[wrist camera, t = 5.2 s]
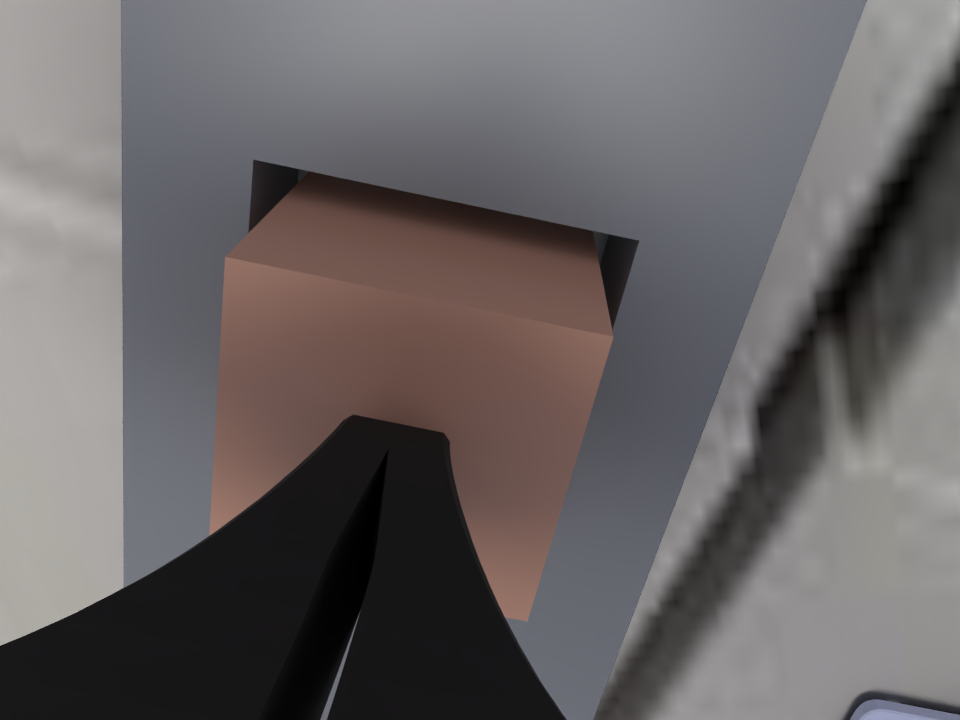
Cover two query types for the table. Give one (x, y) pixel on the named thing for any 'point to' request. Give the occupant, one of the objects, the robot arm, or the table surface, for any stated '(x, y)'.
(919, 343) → the table surface
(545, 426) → the terracotta key
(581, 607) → the key panel
